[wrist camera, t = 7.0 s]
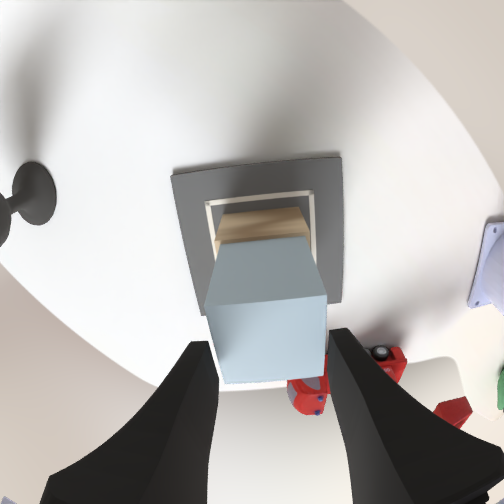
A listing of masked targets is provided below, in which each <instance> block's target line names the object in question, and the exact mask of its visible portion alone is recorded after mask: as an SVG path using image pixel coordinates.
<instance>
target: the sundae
mask: <svg viewBox="0 0 504 504" xmlns="http://www.w3.org/2000/svg"><path fill="white" fill-rule="evenodd" d="M12 195H13V196H11V197H9V198H7V199H5V198H4V196H3V195H2V194H1V193H0V247H1V246H2V244H3V243H4V242H5V241H6V239H7V237H8V235H9V231H10V225H11V214H13V213H15V212H17V211H18V212H19V214H20V215H21V216H22V218H23V219H24V220H26V221H27V222H28V223H30V224H33V225H42V224H45V223H47V222H48V221H49V220H50V218H51V217H52V215H53V213H54V210H55V206H56V191H55V187H54V184H53V181H52V178H51V177H50V175H49V173H48V172H47V171H46V169H45V168H44V167H42V166H41V165H39V164H37V163H34V162H28V163H26V164H24V165H22V166H21V167H20V168H19V169H18V171H17V173H16V174H15V177H14V180H13V185H12Z"/></svg>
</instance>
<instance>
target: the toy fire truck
mask: <svg viewBox="0 0 504 504" xmlns="http://www.w3.org/2000/svg"><path fill="white" fill-rule="evenodd" d="M364 349H365V350H366V351H367V352H368V353H369V354H370V356H371V357H372V358H373V359H374V360H375V361H376V362H377V363H378V364H379V365H380V366H381V368H382V369H383V370H384V371H385V372H386V373H387V374H388V375H389V376H390V377H391V378H392V379H393V380H394V381H395V382H396V383H398V382H399V380H400V378H401V376H402V373H403V371H404V369H405V367H406V364H407V359H406V358H405V356H404V354H403V352H402V350H401V348H400V347H392V348H391V349H390V351H389V350H388V349H387V348H386V347H384V346H377V347H375V348H374V350H373V355H371V352H370V351H369V350H368V349H366V348H364ZM327 359H328V355H325V360H324V375H323V376H318V377H310V378H301V379H292V380H287V393H288V396H289V399H290V401H291V403H292V405H293V406H294V407H295V408H296V409H297V410H298V411H299V412H300V413H302V414H305V415H320V414H322V413H323V410H324V405H325V402H326V398H327V394H331V393H330V387H329V381H328V375H327ZM472 412H473V411H472V408H471V406H470V404H469V402H468V400H467V398H466V397H465V396H464V397H461V398H457V399H453V400H448V401H444V402H441V403H439V404H438V405H437V406H436V409H435V411H433V413H434V414H436V415H437V416H439V417H440V418H442V419H444V420H445V421H447V422H449V423H450V424H452V425H453V426H455V427H457V428H458V429H460V428H461V427H462V425H463V424H464V423H465V421H466V420H467V419H468V417H469V416H470V415H471V414H472Z"/></svg>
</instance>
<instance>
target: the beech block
mask: <svg viewBox="0 0 504 504" xmlns="http://www.w3.org/2000/svg"><path fill="white" fill-rule="evenodd" d="M297 236H305V237H306V240H307V242H308V245H309V248H310V231H309V228H308V226H307V224H306V222H305V220H304V217H303V215H302V213H301V211H300V209H299V207H289V208H279V209H269V210H259V211H249V212H240V213H231V214H223V215H222V218H221V221H220V225H219V228H218V231H217V234H216V237H215V240H214V243H215V249H216V254H218V250H219V247H220V244H228V243H237V242H247V241H257V240H267V239H277V238H287V237H297ZM310 250H311V248H310Z"/></svg>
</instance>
